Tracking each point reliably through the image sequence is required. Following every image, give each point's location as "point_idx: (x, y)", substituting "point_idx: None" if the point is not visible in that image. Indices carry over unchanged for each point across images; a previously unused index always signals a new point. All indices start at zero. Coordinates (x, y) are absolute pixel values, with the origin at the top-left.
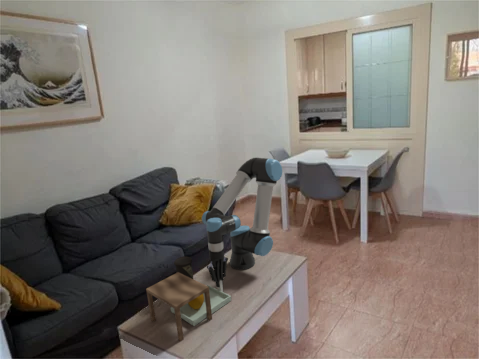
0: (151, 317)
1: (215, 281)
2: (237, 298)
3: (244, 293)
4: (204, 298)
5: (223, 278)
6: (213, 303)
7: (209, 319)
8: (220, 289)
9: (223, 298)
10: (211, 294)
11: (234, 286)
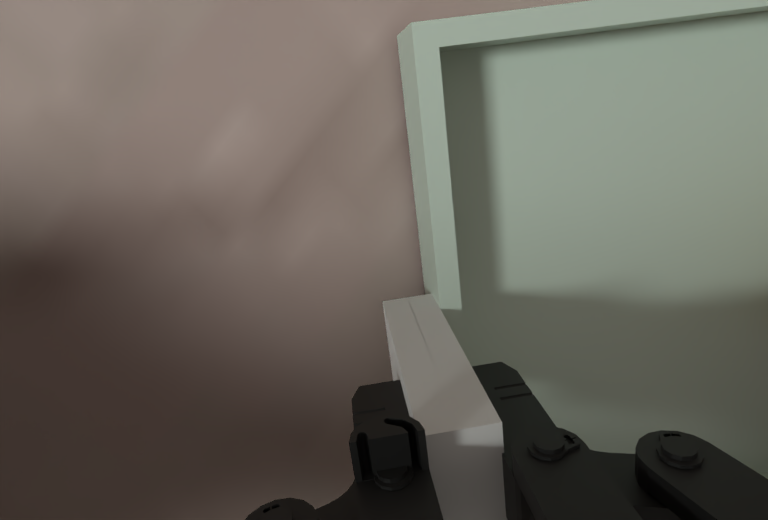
0: None
1: (710, 450)
2: (272, 11)
3: (71, 37)
4: (669, 362)
5: (362, 464)
6: (681, 159)
7: None
8: (446, 326)
9: (486, 152)
10: (537, 377)
11: (98, 342)
